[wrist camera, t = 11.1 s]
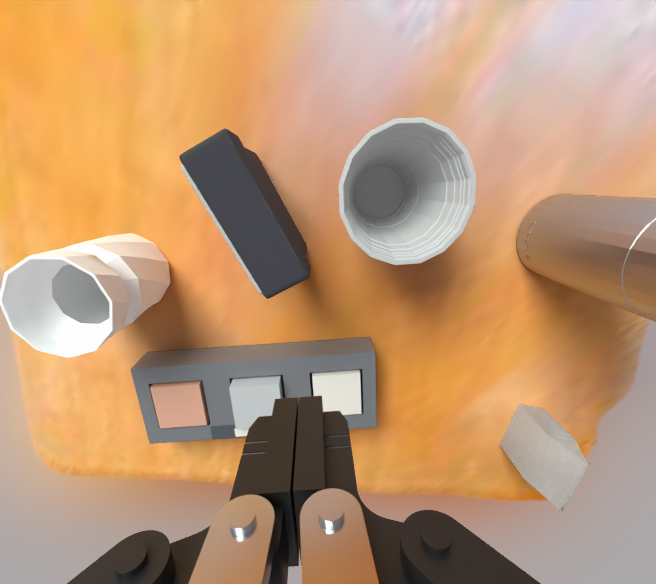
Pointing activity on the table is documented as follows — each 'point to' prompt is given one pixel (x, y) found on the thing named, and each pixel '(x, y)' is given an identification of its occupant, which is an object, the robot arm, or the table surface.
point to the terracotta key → (180, 404)
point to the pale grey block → (544, 454)
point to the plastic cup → (407, 191)
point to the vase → (83, 292)
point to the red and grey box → (247, 212)
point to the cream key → (339, 390)
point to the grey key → (254, 398)
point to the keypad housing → (250, 362)
